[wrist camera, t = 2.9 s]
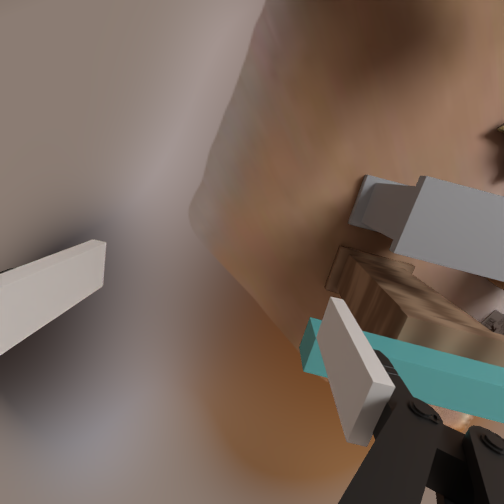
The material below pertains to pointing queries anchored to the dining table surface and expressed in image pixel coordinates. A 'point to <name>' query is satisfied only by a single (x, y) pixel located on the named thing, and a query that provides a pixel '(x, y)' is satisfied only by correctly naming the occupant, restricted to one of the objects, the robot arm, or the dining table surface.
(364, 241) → the dining table surface
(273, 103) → the dining table surface
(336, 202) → the dining table surface
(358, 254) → the tall stand
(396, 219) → the low stand
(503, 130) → the ceramic sculpture
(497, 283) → the brown bread chunk
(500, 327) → the coffee box
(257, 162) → the dining table surface
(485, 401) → the bar
